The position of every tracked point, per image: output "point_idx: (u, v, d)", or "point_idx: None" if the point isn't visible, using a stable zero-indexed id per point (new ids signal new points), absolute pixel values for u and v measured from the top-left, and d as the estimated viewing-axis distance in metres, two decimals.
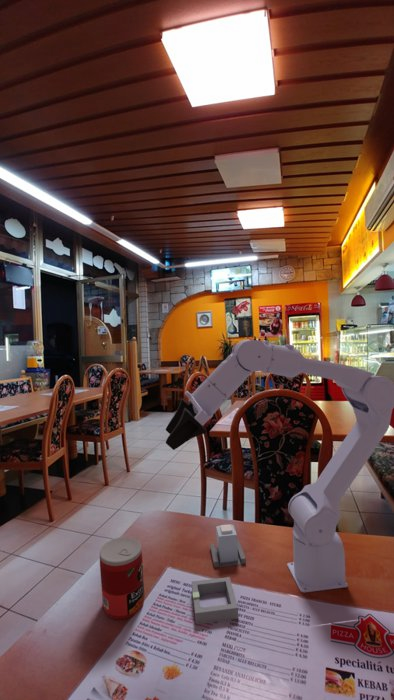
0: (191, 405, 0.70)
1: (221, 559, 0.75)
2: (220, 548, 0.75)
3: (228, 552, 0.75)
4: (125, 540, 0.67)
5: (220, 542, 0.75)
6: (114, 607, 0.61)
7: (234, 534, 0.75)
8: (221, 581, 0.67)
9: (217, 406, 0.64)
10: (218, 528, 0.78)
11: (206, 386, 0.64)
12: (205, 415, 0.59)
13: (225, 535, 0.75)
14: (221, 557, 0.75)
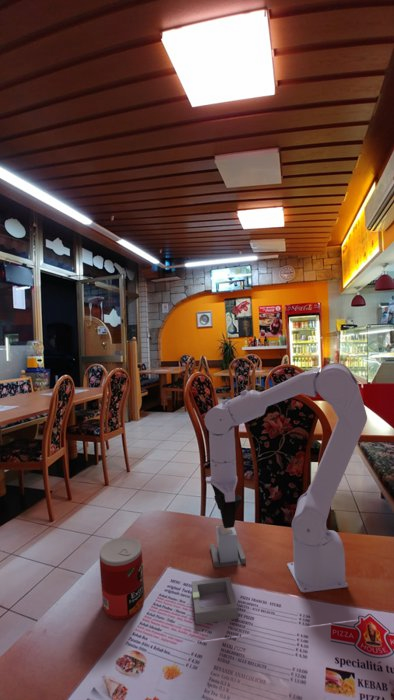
0: None
1: (221, 559, 0.75)
2: (220, 548, 0.75)
3: (228, 552, 0.75)
4: (125, 540, 0.67)
5: (220, 542, 0.75)
6: (114, 607, 0.61)
7: (234, 534, 0.75)
8: (221, 581, 0.67)
9: (233, 471, 0.74)
10: (218, 528, 0.78)
11: (214, 467, 0.74)
12: (230, 493, 0.69)
13: (225, 535, 0.75)
14: (221, 557, 0.75)
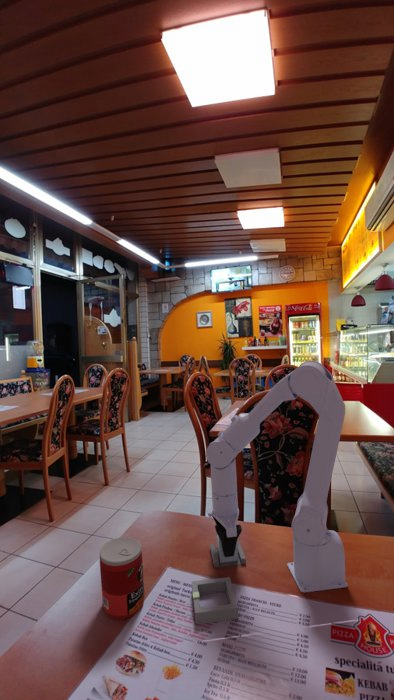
0: None
1: (221, 559, 0.75)
2: (220, 548, 0.75)
3: None
4: (125, 540, 0.67)
5: (220, 542, 0.75)
6: (114, 607, 0.61)
7: None
8: (221, 581, 0.67)
9: (235, 504, 0.74)
10: None
11: (216, 500, 0.74)
12: (231, 529, 0.69)
13: None
14: (221, 557, 0.75)
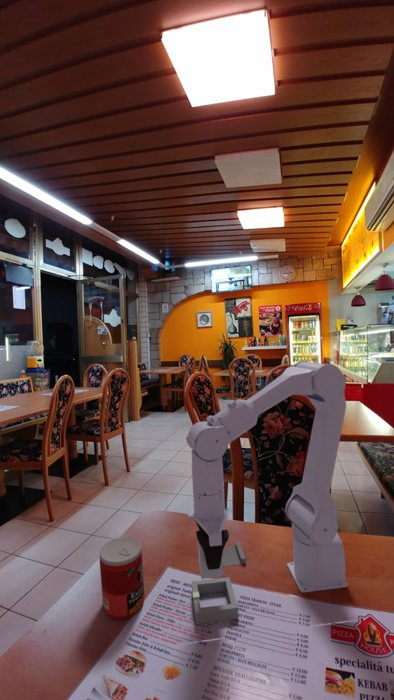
0: None
1: (202, 574, 0.61)
2: (201, 561, 0.61)
3: None
4: (125, 540, 0.67)
5: (201, 554, 0.61)
6: (114, 607, 0.61)
7: None
8: (221, 581, 0.67)
9: (221, 505, 0.61)
10: None
11: (197, 500, 0.60)
12: (215, 536, 0.55)
13: None
14: (202, 572, 0.61)
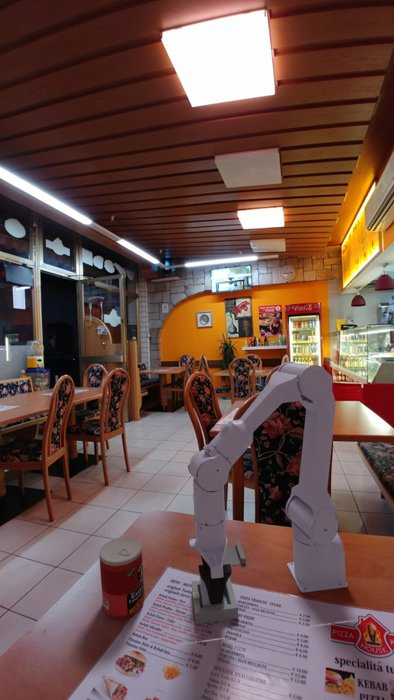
0: None
1: None
2: (203, 598, 0.61)
3: None
4: (125, 540, 0.67)
5: (203, 591, 0.61)
6: (114, 607, 0.61)
7: None
8: None
9: (222, 535, 0.61)
10: None
11: (199, 529, 0.61)
12: (217, 568, 0.56)
13: None
14: None
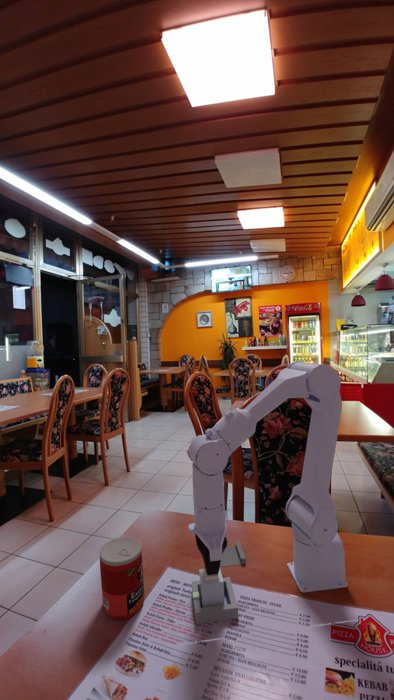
0: None
1: None
2: (203, 598, 0.61)
3: (213, 603, 0.62)
4: (125, 540, 0.67)
5: (203, 591, 0.61)
6: (114, 607, 0.61)
7: (220, 581, 0.62)
8: None
9: (221, 519, 0.61)
10: (201, 572, 0.64)
11: (198, 513, 0.61)
12: (216, 550, 0.56)
13: (209, 582, 0.61)
14: None
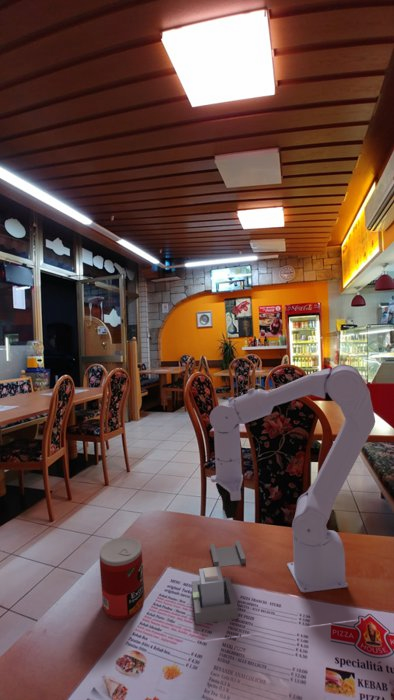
0: None
1: None
2: (203, 598, 0.61)
3: (213, 603, 0.62)
4: (125, 540, 0.67)
5: (203, 591, 0.61)
6: (114, 607, 0.61)
7: (220, 581, 0.62)
8: None
9: (239, 470, 0.73)
10: (201, 572, 0.64)
11: (219, 465, 0.73)
12: (236, 492, 0.68)
13: (209, 582, 0.61)
14: None
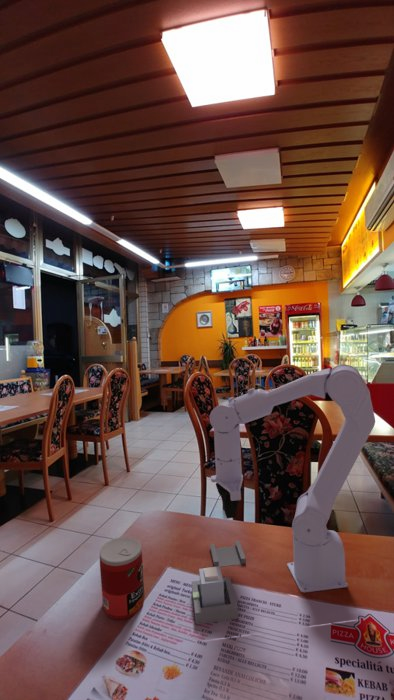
0: None
1: None
2: (203, 598, 0.61)
3: (213, 603, 0.62)
4: (125, 540, 0.67)
5: (203, 591, 0.61)
6: (114, 607, 0.61)
7: (220, 581, 0.62)
8: None
9: (239, 470, 0.73)
10: (201, 572, 0.64)
11: (219, 465, 0.73)
12: (236, 492, 0.68)
13: (209, 582, 0.61)
14: None
